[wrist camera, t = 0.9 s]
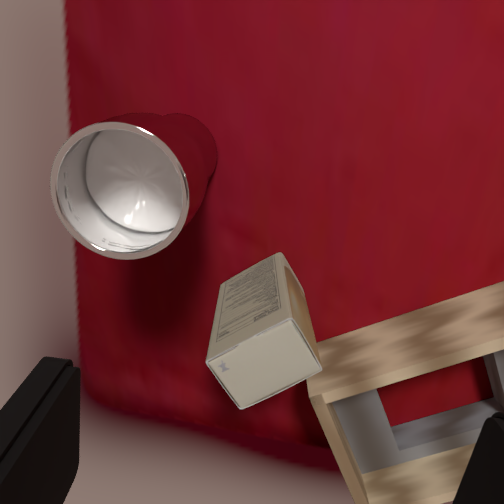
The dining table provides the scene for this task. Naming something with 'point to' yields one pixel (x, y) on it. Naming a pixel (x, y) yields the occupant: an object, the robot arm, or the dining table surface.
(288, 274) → the skincare box
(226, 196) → the dining table surface
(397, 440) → the insert box
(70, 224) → the beer glass
